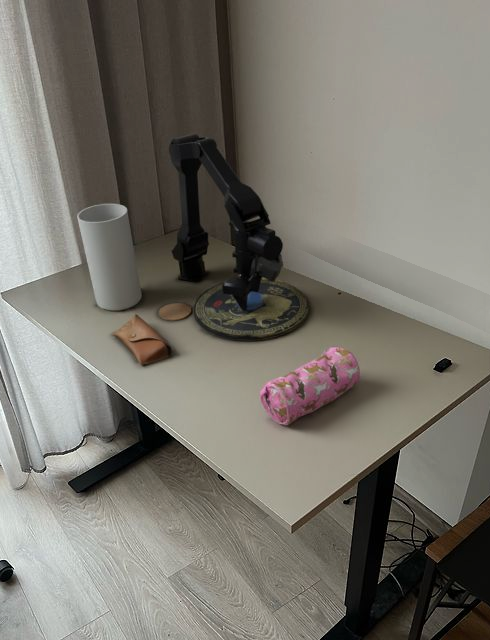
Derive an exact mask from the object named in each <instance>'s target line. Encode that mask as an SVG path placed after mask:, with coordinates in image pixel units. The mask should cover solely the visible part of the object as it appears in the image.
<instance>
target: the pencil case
mask: <svg viewBox="0 0 490 640" xmlns="http://www.w3.org/2000/svg"><path fill="white" fill-rule="evenodd" d="M360 378H361V369H360V365H359V362H358V360H357V358H356V356H355V354H353V352H352V351H350V350H349V349H347V348H342V347H339V346H335V347H334V346H331V347H330V348H327V347H326V348H325V349H324V350H323V352H322V354H321V355H320V356H318V357H317V358H315V359H313V360H311V361H310V362H307V363H304V365H303V364H302V365H301V366H299V367H298V368H296V369H294V370H293V371H291V372H289V373H286V374H284V375H281V376H278V377H276V378H274V379H271V380H269V381H267V382H266V383H265V386H263V388H262V389H261V390H260V391H259V395H260V402H261V405H262V407H263V409H264V410H265V412H266V413H267V414H268V416H269V417H270V418H271V419H272V420H273V421H275V422H276V423H277V424H280V425H282V426H289V425H290V424H292V423H294V421H296V420H297V419H299V418H301V417H303V416H307V414H308V415H309V414H310V413H314V412H315V411H317V410H318V409H320V408H322V407H323V406H326V405H328V404H329V403H331V402H333V401H335V400H336V399H338V398H339V397H340V396H342V395H343V394H344V393H346V392H347V391H348V390H350V389H351V388H353V387H355V386H357V385H358V383H359V381H360Z"/></svg>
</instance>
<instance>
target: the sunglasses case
mask: <svg viewBox="0 0 490 640" xmlns="http://www.w3.org/2000/svg"><path fill="white" fill-rule="evenodd" d="M112 336H114V337H115V338H116V339H117V340H119V341H120V342H121V343H122V344H123V345H124V346H125V347H126V348H127V350H128V351H129V352H130V353H131V354H132V356H133V357H134V358H135V359H136V361H137V362H138V364H139V365H140V366H141V365H142V366H146V365H149V364H154V363H157V362H160V361H162V360H163V361H164V360H165V359H168V358H169V357H170V356H171V355H172V353H173V349H172V347H171V346H170V345H169V344H168V342H167V341H166V340H165V339H164V338H163V337H162V336H161V335H160V334H159V333H158V332H157V331H156V330H155V329H154V328H153V327H152V326H150V325H149V323H148V322H146V321H145V319H143V318H142V317H141V316H139V315H138V314H137V313H135V314H134V316H133V317H132V318H131V319H129V320H128V321H127V322H126V323H125V324H124V325H122V326H121V327H120V328H119V329H118V330H117V331H116V332H114V333H112Z"/></svg>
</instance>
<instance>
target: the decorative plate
mask: <svg viewBox="0 0 490 640" xmlns="http://www.w3.org/2000/svg"><path fill="white" fill-rule="evenodd" d="M225 282H226V281H224V282H220V283H217V284H215V285H213V286H211V287H209V288H208V289H206V290H204V291H203V292H202V293H201V294H200V295H198V297H197V299H195V301H194V303H193V306H192V316H193V319H194V321H195V323H196V324H197V325H198V326H199V327H200V329H202V330H203V331H205V332H206V333H208V334H210V335H212V336H215V337H217V338H220V339H225V340H230V341H237V342H251V341H252V342H253V341H263V340H269V339H273V338H277V337H280V336H283V335H285V334H288V333H289V332H292V331H293V330H295V329H297V328H298V327H300V326H301V325H302V323H303V322H304V321H305V320H306V318H307V317H308V314H309V303H308V299H307V297H306V296H305V294H304V293H303V292H302V291H301V290H300V289H298V287H296V286H293V285H291V284H290V283H287V282H284V281H282V280H278V279H275V281H273V282H271V281H268V279H266V278H264V277H262V280H261V284H260V288H259V292H258V293H260V294H262V296H263V305H262V306H261V307H259V308H258V309H256V310H253V311H243V310H242V309H241V308H239V307H238V306H237V305H236V300H235V299H234V297H233V296H232V295H229V294H224V293H223V292H222V285H223V284H224V283H225Z"/></svg>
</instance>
